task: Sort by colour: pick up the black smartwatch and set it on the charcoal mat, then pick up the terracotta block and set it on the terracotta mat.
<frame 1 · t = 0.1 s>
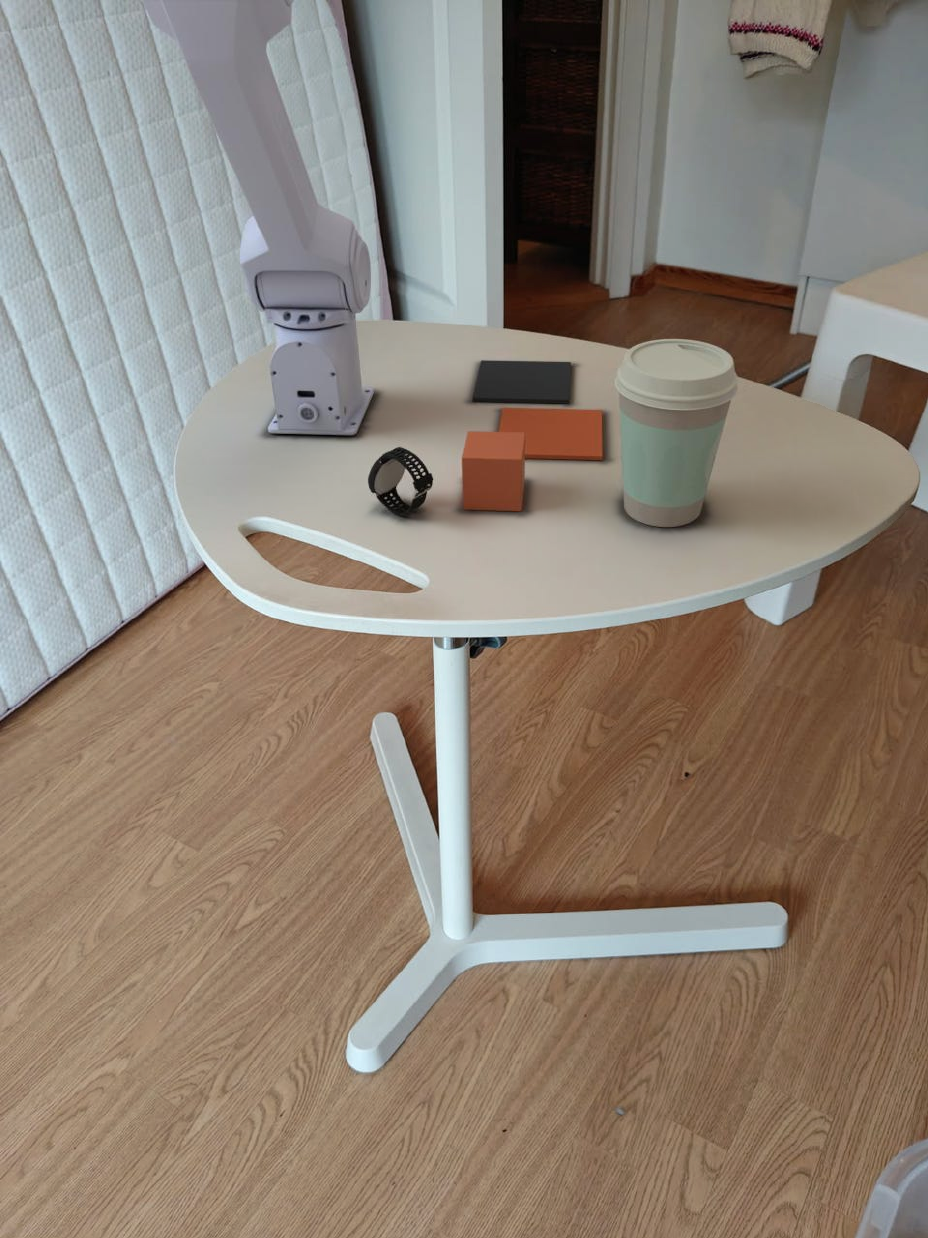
terracotta mat: (550, 434, 86), on the table
dark mat: (523, 382, 95), on the table
coffee cup: (661, 510, 75), on the table
smartwatch: (401, 514, 76), on the table
terracotta block: (494, 496, 77), on the table
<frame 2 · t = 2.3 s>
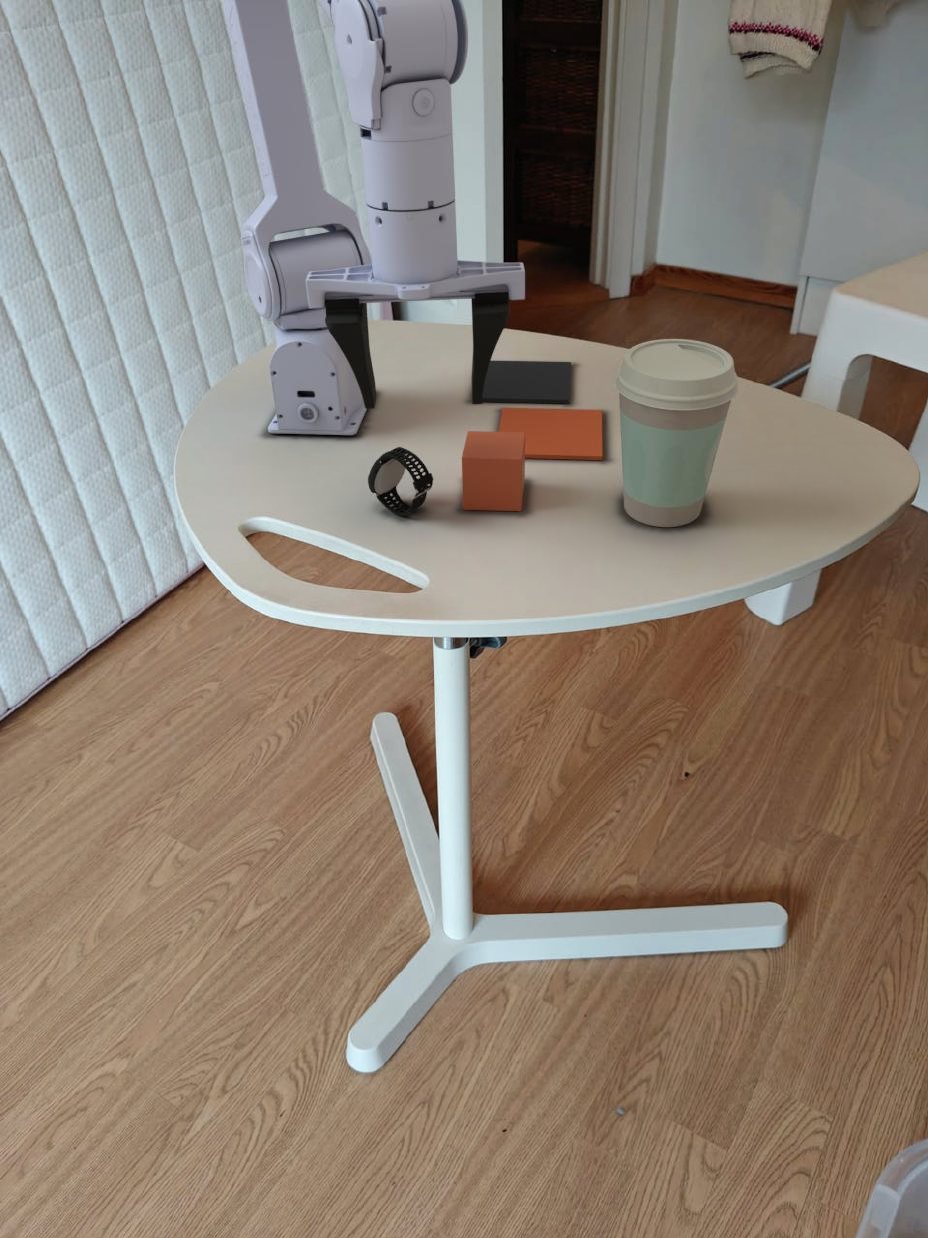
hand: (423, 401, 71), 9 cm above the table, tool pointing down, fingers open, 7 cm apart
nothing on the table moved.
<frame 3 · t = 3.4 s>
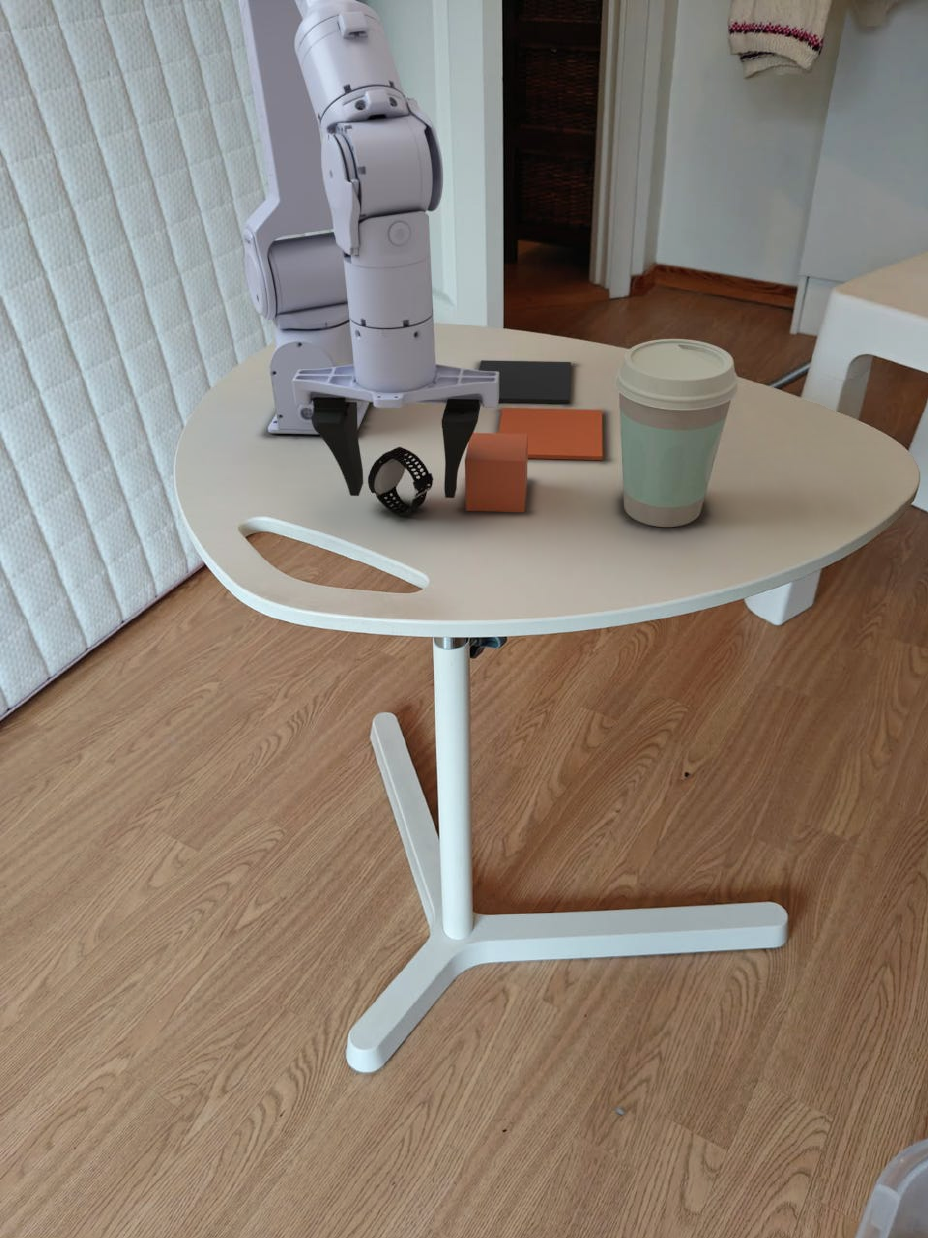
hand: (403, 490, 75), 2 cm above the table, tool pointing down, fingers open, 7 cm apart
terracotta block: (497, 497, 77), on the table, touching gripper
everything else where it was.
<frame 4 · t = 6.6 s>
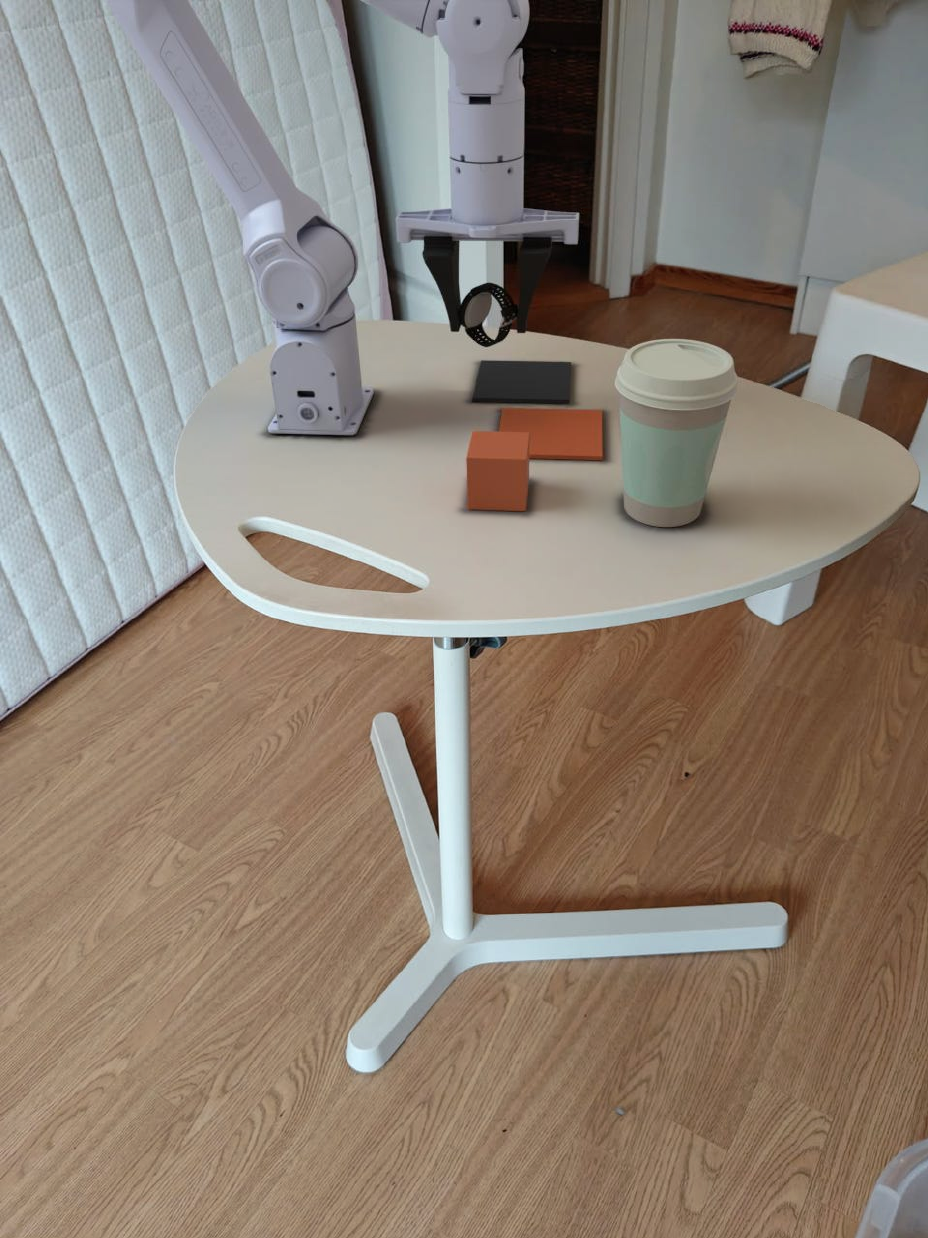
hand: (488, 328, 83), 8 cm above the table, tool pointing down, fingers closed on smartwatch, 5 cm apart
smartwatch: (486, 347, 84), point 7 cm above the table, touching gripper
terracotta block: (498, 496, 77), on the table
everything else where it was.
when the fingers open (2 cm above the table, at t = 9.4 s): smartwatch stays where it is, resting on dark mat.
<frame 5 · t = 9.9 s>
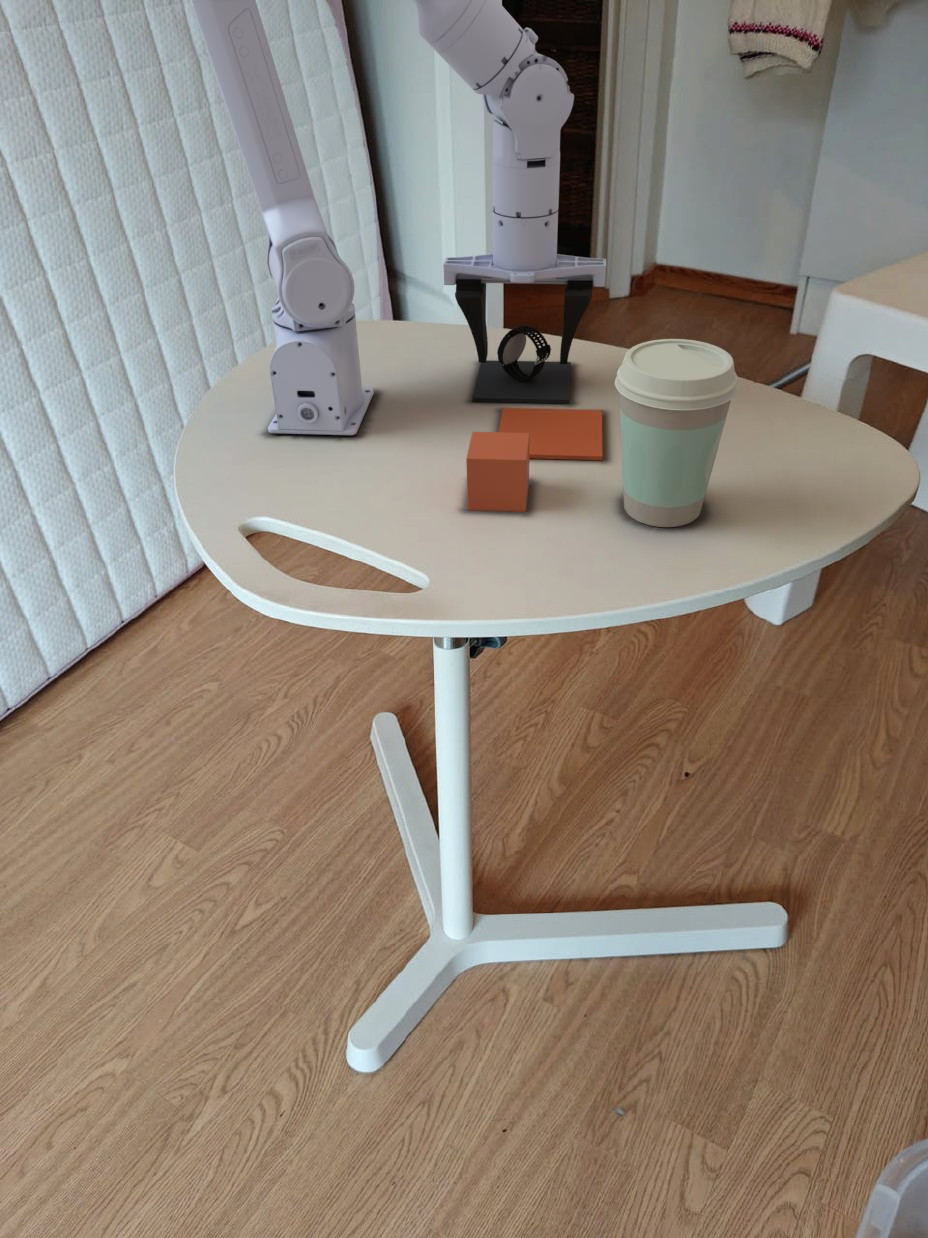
hand: (523, 359, 93), 2 cm above the table, tool pointing down, fingers open, 7 cm apart
smartwatch: (521, 381, 94), resting on dark mat
everything else where it was.
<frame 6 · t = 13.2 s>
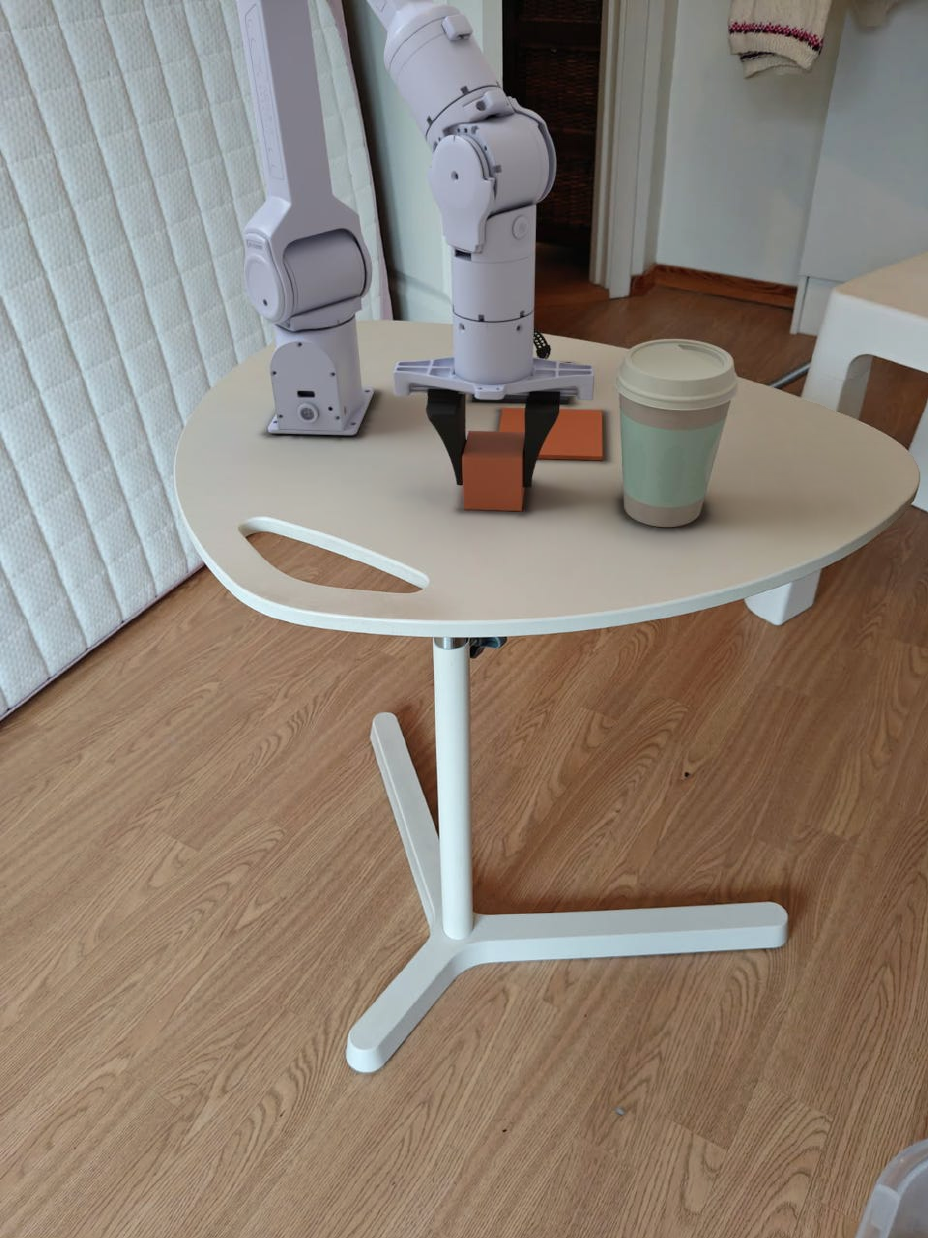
hand: (494, 480, 76), 1 cm above the table, tool pointing down, fingers closed on terracotta block, 4 cm apart
terracotta block: (494, 495, 77), on the table, touching gripper
everything else where it was.
when the fingers open (2 cm above the table, at t = 17.5 s): terracotta block stays where it is, resting on terracotta mat.
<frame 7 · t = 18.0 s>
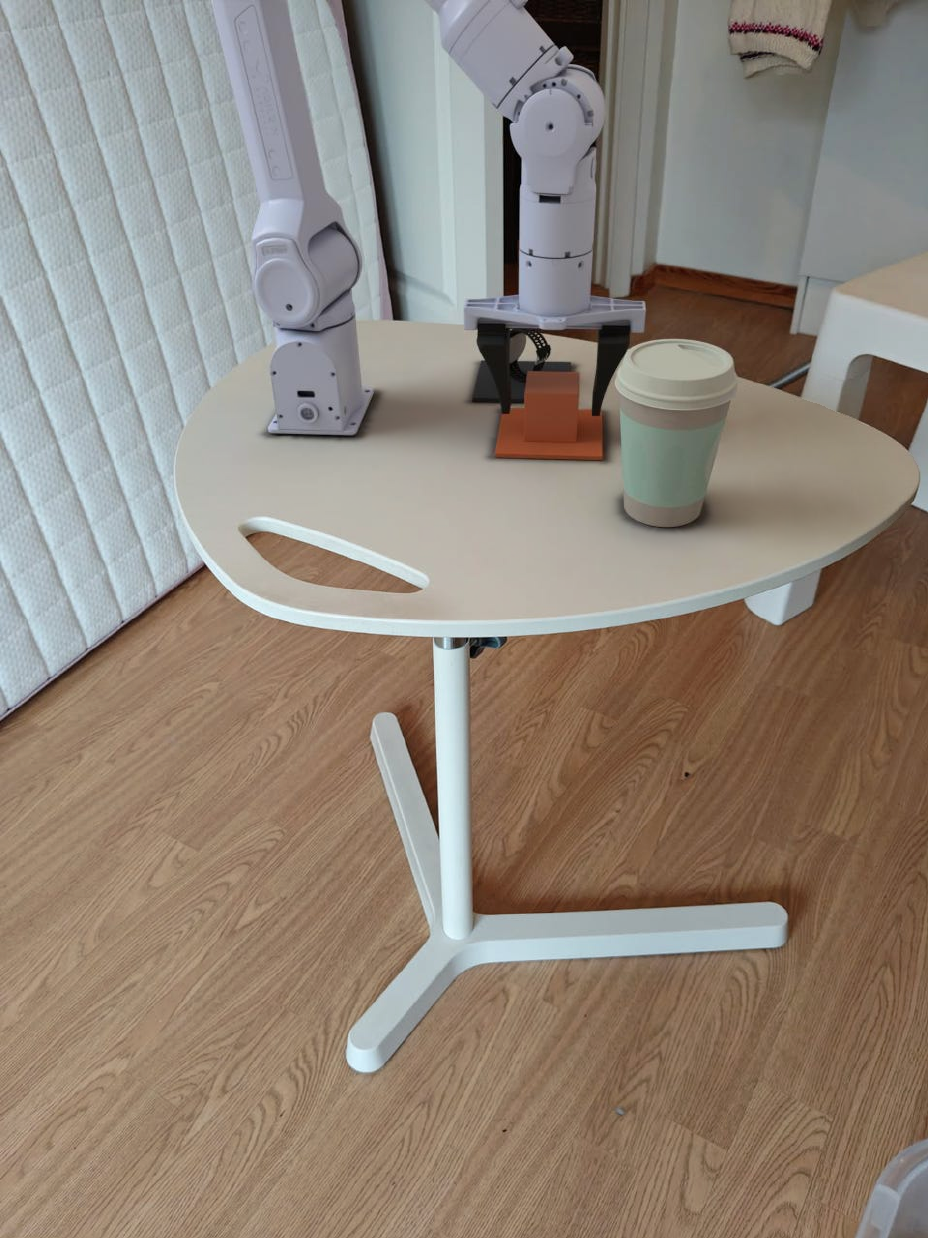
hand: (550, 410, 84), 2 cm above the table, tool pointing down, fingers open, 7 cm apart
terracotta block: (551, 430, 85), resting on terracotta mat
everything else where it was.
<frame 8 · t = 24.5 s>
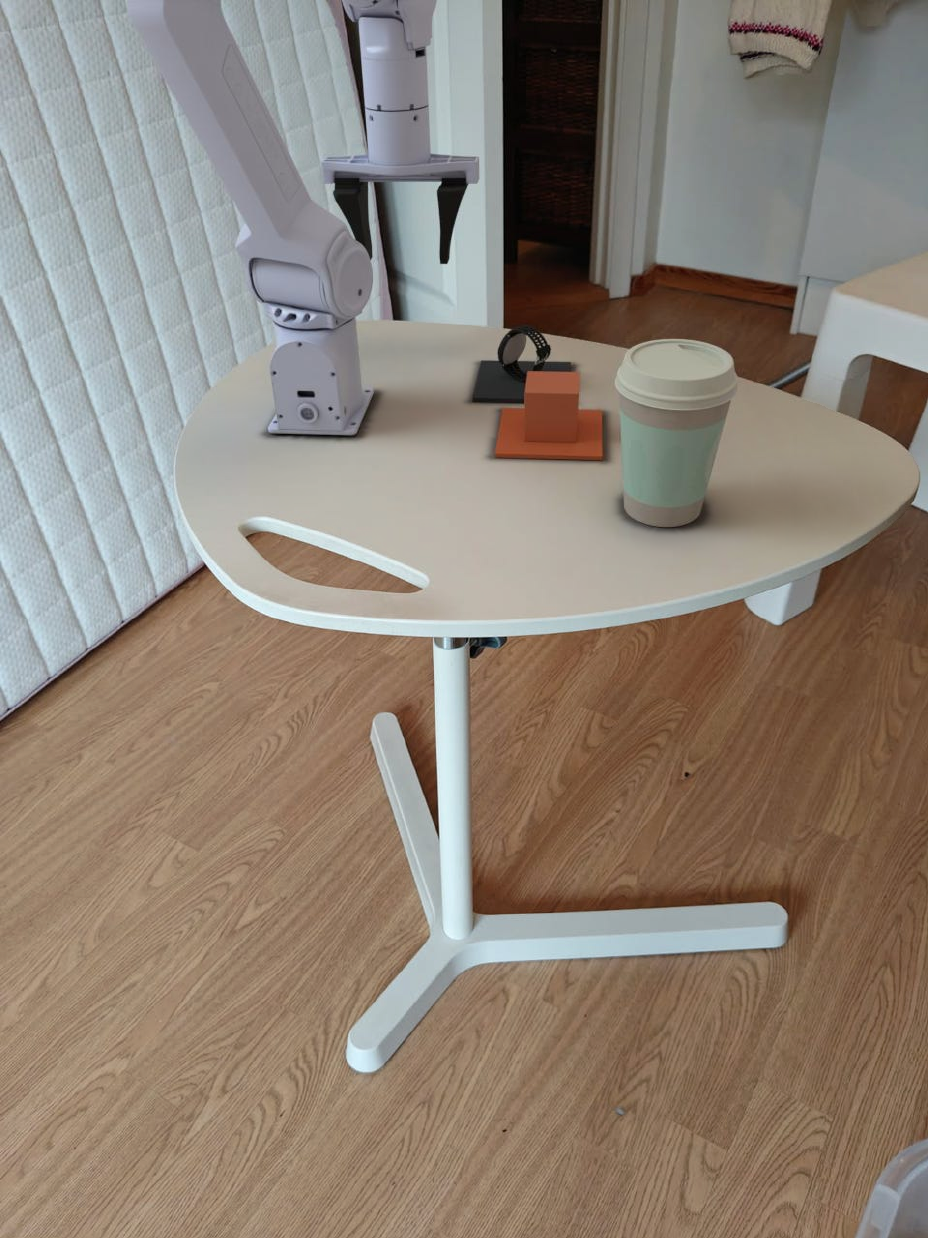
hand: (405, 260, 96), 9 cm above the table, tool pointing down, fingers open, 7 cm apart
nothing on the table moved.
at the end: smartwatch inside the target area on the dark mat (0.2 cm from its centre), point 0.2 cm above the dark mat's base; terracotta block inside the target area on the terracotta mat (0.1 cm from its centre), point 0.4 cm above the terracotta mat's base; the gripper is holding nothing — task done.
